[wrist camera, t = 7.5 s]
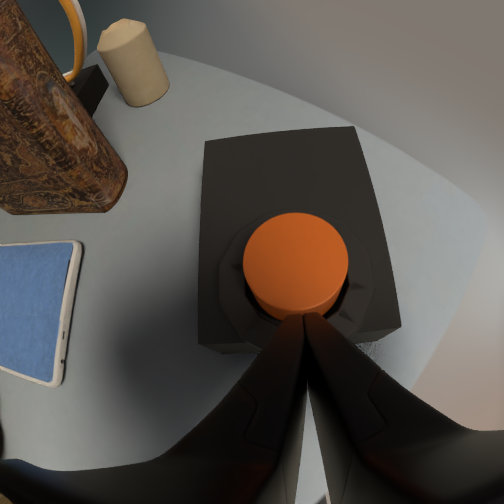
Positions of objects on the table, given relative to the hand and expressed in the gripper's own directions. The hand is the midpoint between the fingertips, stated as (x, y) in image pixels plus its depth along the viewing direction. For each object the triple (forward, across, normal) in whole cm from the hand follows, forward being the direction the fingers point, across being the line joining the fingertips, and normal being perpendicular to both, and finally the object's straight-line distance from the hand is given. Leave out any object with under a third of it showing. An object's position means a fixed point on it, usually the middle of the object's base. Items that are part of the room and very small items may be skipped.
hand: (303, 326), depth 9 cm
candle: (+28, +14, -12) cm, 34 cm away
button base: (+13, 0, +3) cm, 13 cm away
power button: (+5, 0, +1) cm, 6 cm away
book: (+20, +22, -4) cm, 30 cm away
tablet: (+11, +27, +5) cm, 30 cm away
